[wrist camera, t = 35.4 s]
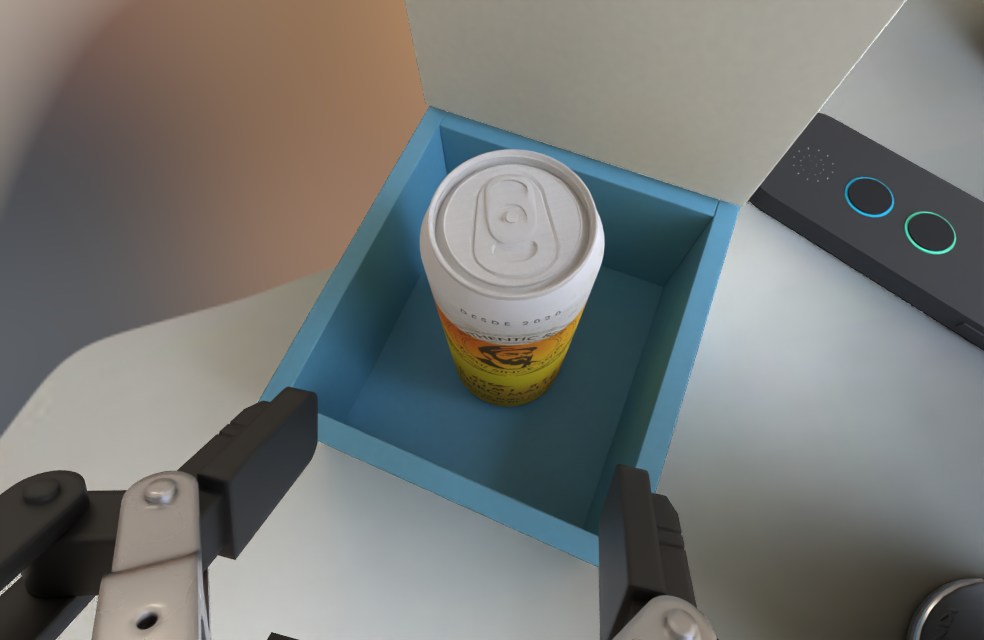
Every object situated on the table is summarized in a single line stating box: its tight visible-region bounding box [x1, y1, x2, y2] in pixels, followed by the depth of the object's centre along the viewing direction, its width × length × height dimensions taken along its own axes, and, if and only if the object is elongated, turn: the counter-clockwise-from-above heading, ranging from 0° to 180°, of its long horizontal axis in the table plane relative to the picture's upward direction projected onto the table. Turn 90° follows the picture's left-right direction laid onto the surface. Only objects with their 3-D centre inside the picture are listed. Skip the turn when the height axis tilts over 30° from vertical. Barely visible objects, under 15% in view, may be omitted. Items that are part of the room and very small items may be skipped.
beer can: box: [420, 149, 605, 407], centre depth 23 cm, size 6×6×15 cm
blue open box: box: [258, 106, 740, 567], centre depth 27 cm, size 17×16×9 cm
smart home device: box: [749, 113, 984, 350], centre depth 32 cm, size 8×2×20 cm
